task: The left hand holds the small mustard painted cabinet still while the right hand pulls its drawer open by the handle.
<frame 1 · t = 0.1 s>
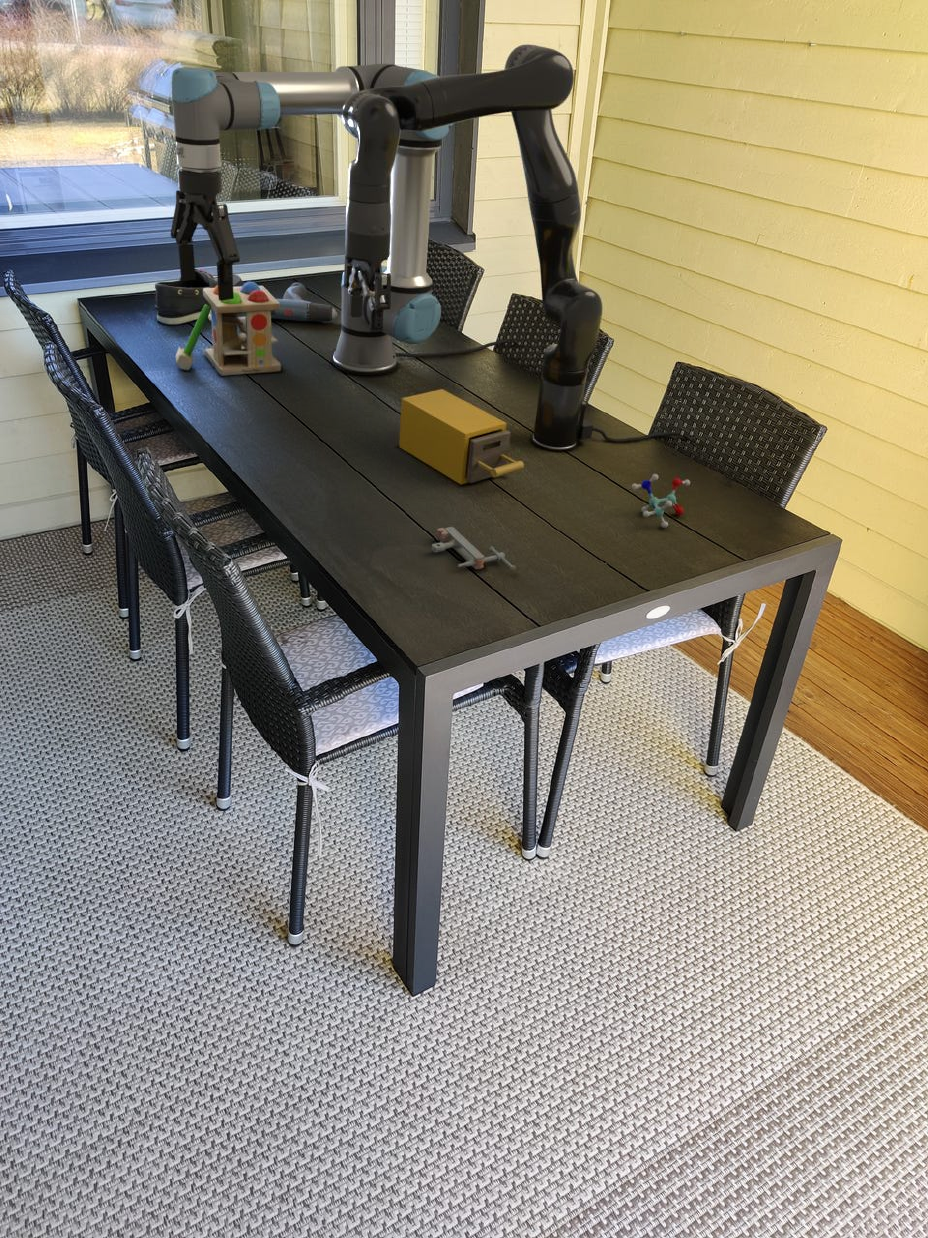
left hand: (206, 289, 186), 28 cm above the table, tool pointing down, fingers open, 13 cm apart
right hand: (365, 323, 173), 29 cm above the table, tool pointing down, fingers open, 8 cm apart
drawer: (469, 445, 192), point 5 cm above the table, slide at 0.8 cm
molecular model: (654, 516, 185), on the table
cabinet: (449, 459, 198), on the table
boat shoe: (202, 308, 263), on the table
pounding bench toy: (225, 365, 230), on the table
clamp: (467, 558, 166), on the table
power drill: (305, 313, 267), on the table
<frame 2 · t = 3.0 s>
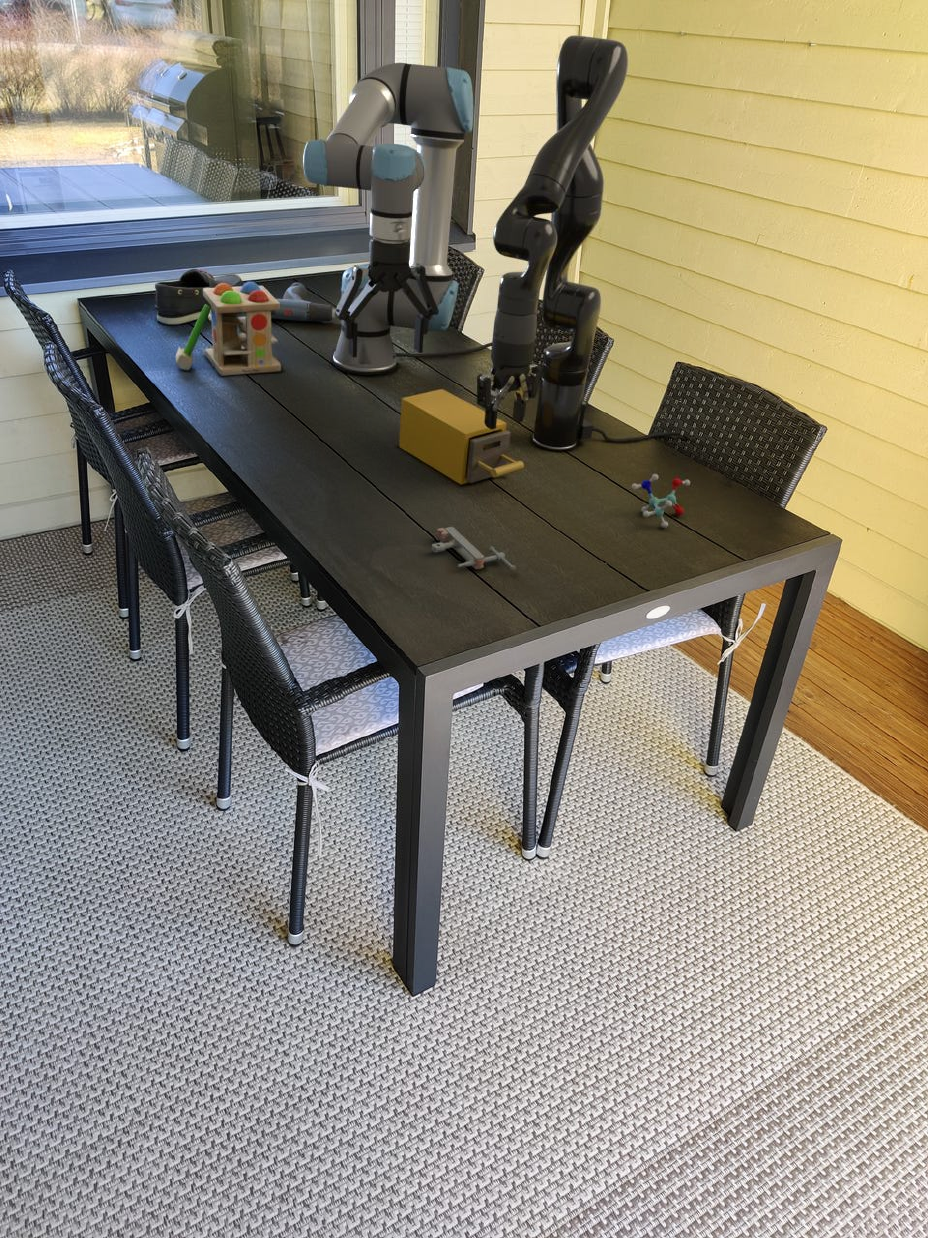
left hand: (385, 352, 190), 19 cm above the table, tool pointing down, fingers open, 13 cm apart
right hand: (504, 423, 182), 13 cm above the table, tool pointing down, fingers open, 6 cm apart
nothing on the table moved.
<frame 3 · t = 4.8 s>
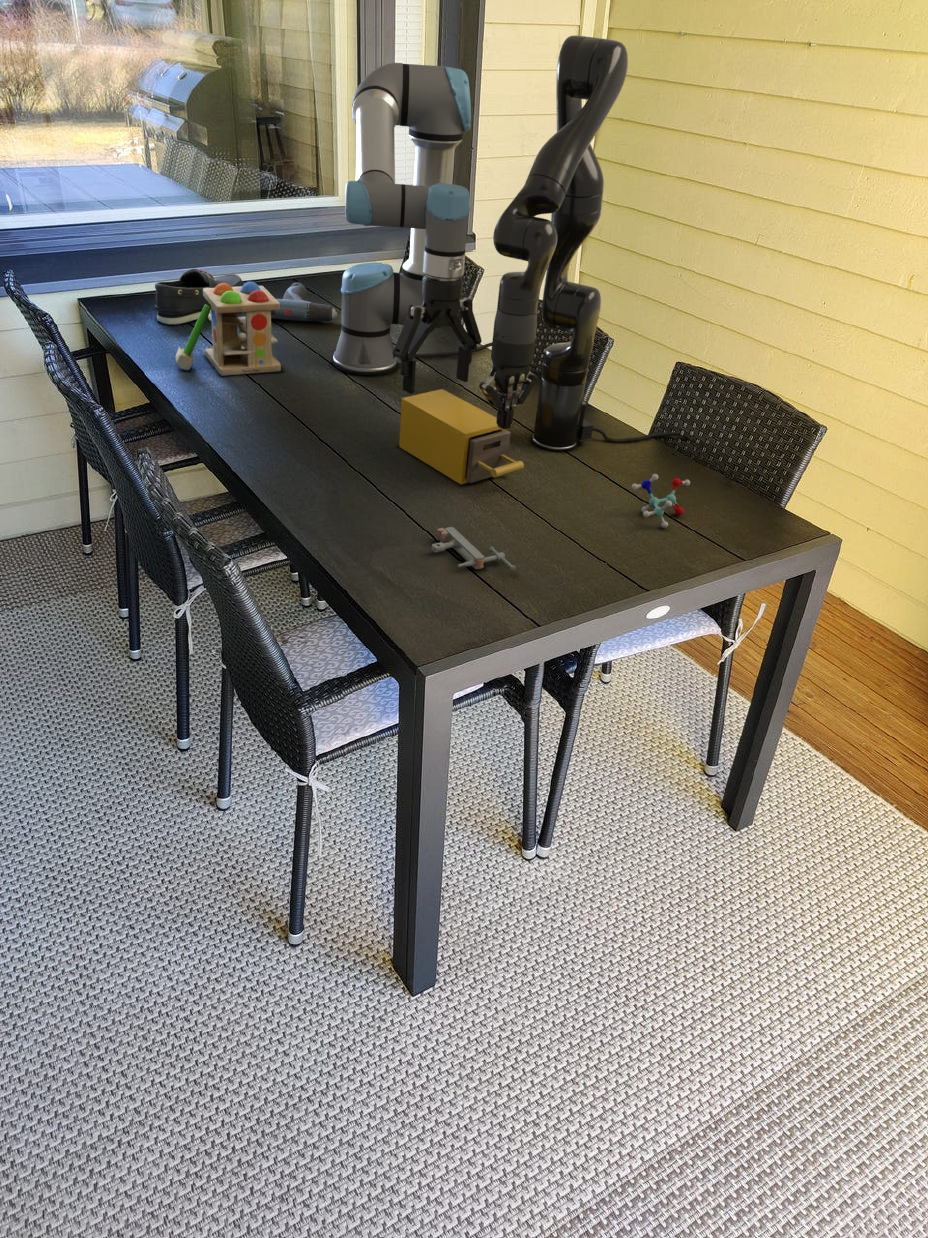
left hand: (435, 385, 194), 14 cm above the table, tool pointing down, fingers open, 13 cm apart
right hand: (503, 427, 182), 13 cm above the table, tool pointing down, fingers closed
nothing on the table moved.
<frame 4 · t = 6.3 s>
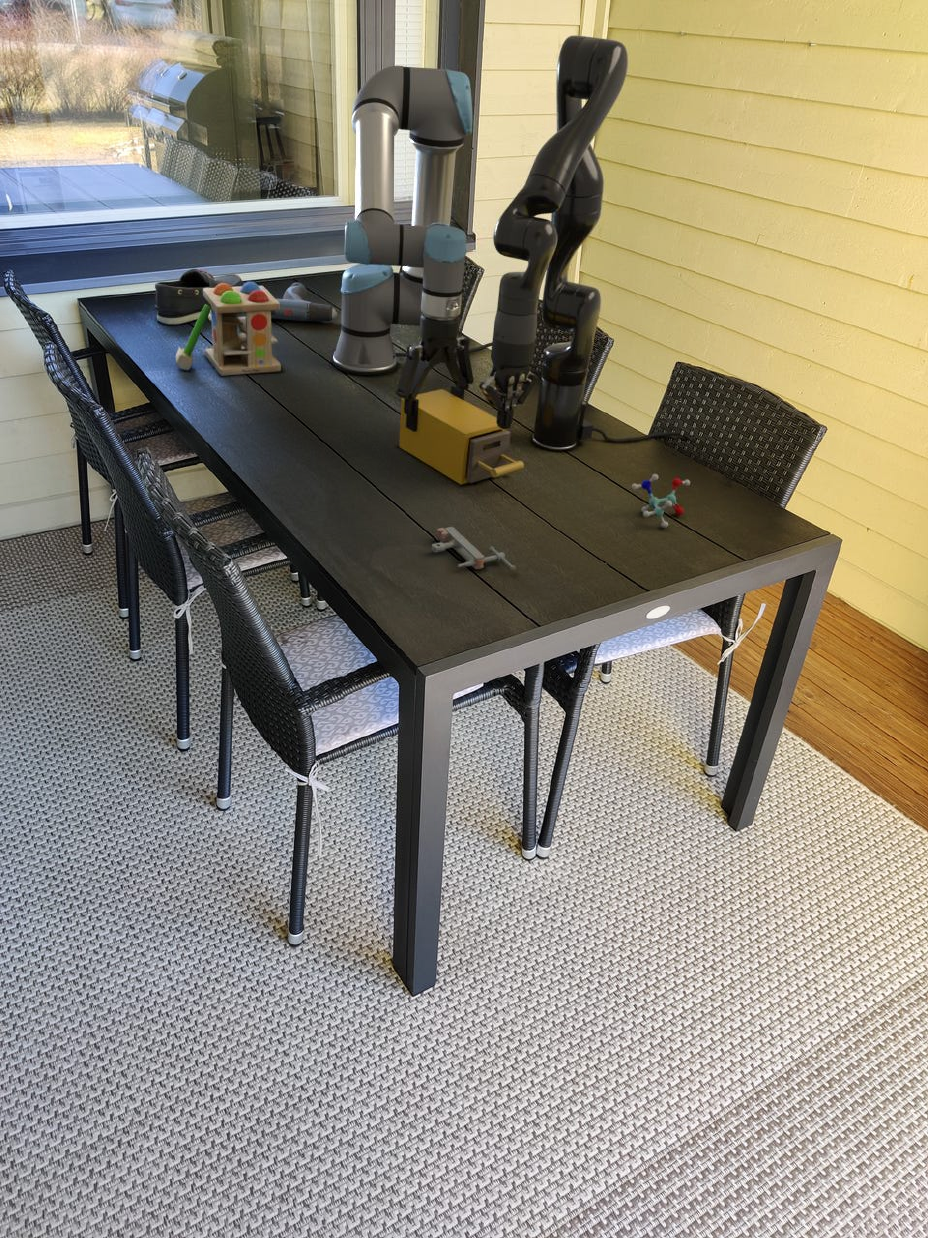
left hand: (433, 423, 198), 6 cm above the table, tool pointing down, fingers closed on cabinet, 10 cm apart
right hand: (503, 427, 182), 13 cm above the table, tool pointing down, fingers closed
cabinet: (449, 459, 198), on the table, touching left hand
everything else where it was.
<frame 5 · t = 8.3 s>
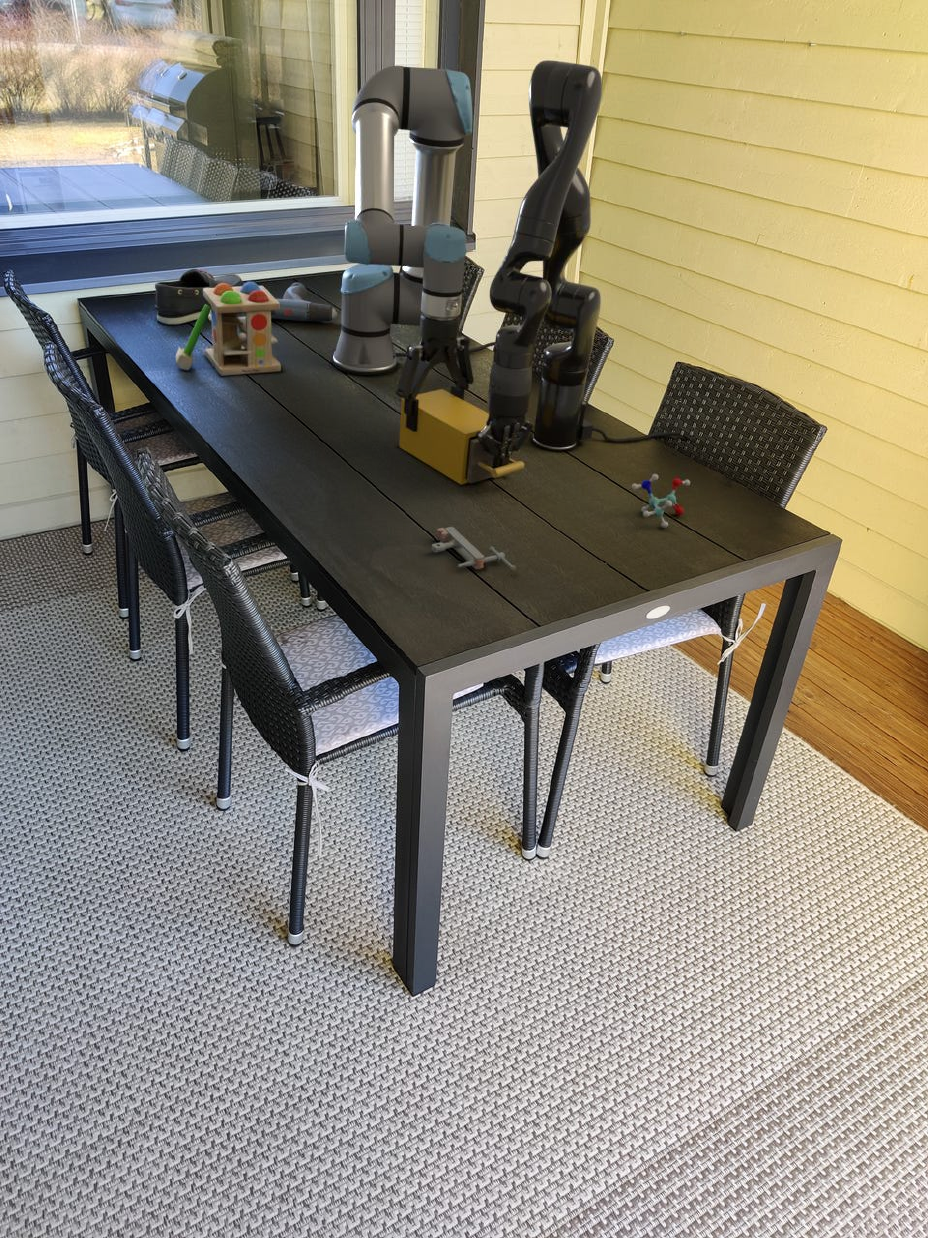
left hand: (433, 423, 198), 6 cm above the table, tool pointing down, fingers closed on cabinet, 10 cm apart
right hand: (499, 472, 187), 3 cm above the table, tool pointing down, fingers closed
drawer: (469, 445, 192), point 5 cm above the table, slide at 0.9 cm, touching right hand
cabinet: (449, 459, 198), on the table, touching left hand
everything else where it was.
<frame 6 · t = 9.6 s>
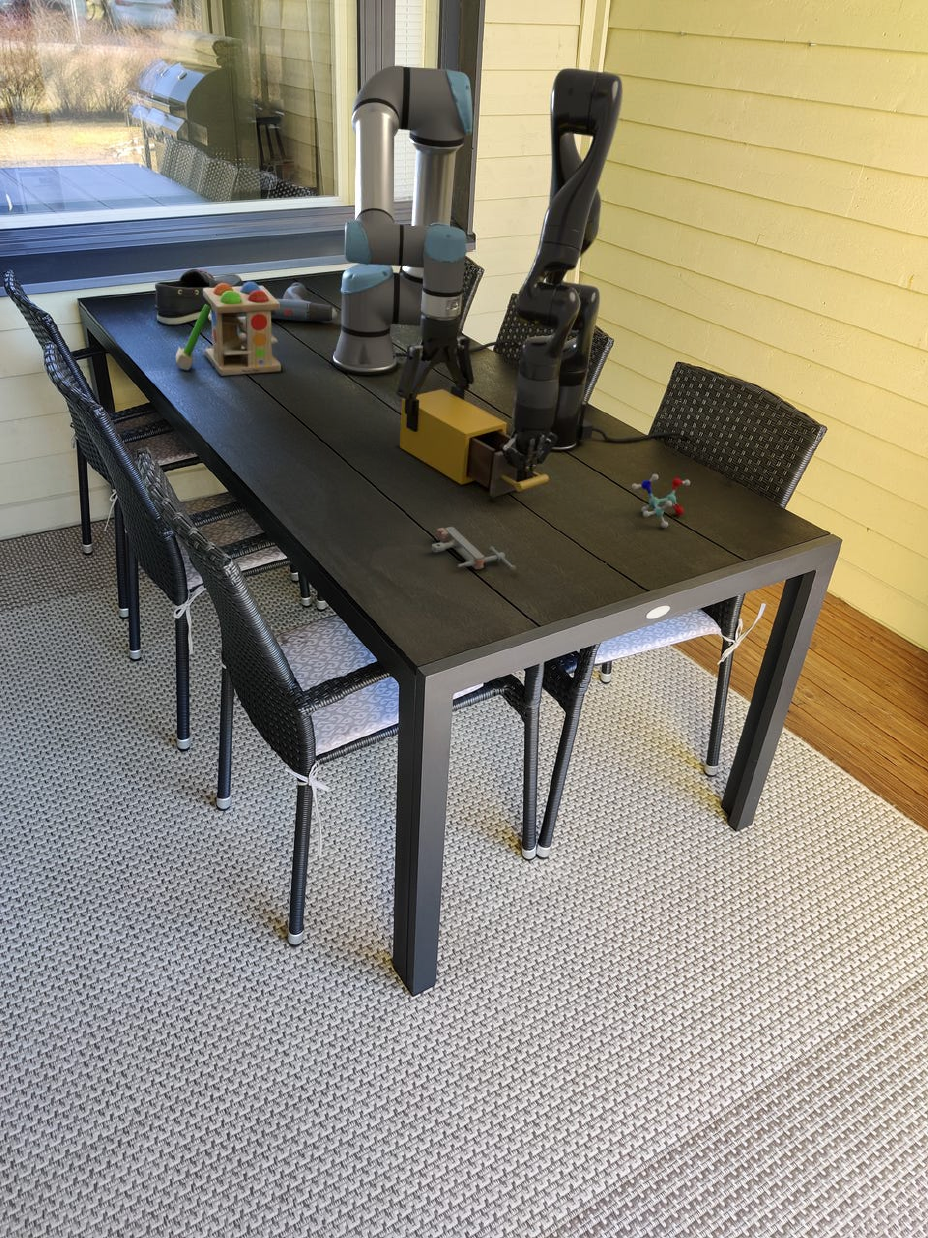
left hand: (433, 423, 198), 6 cm above the table, tool pointing down, fingers closed on cabinet, 10 cm apart
right hand: (523, 486, 183), 3 cm above the table, tool pointing down, fingers closed
drawer: (492, 458, 188), point 5 cm above the table, slide at 7.4 cm, touching right hand
cabinet: (449, 459, 198), on the table, touching left hand
everything else where it was.
when the left hand's fingers open (6 cm above the table, at t = 11.3 s): cabinet stays where it is, on the table.
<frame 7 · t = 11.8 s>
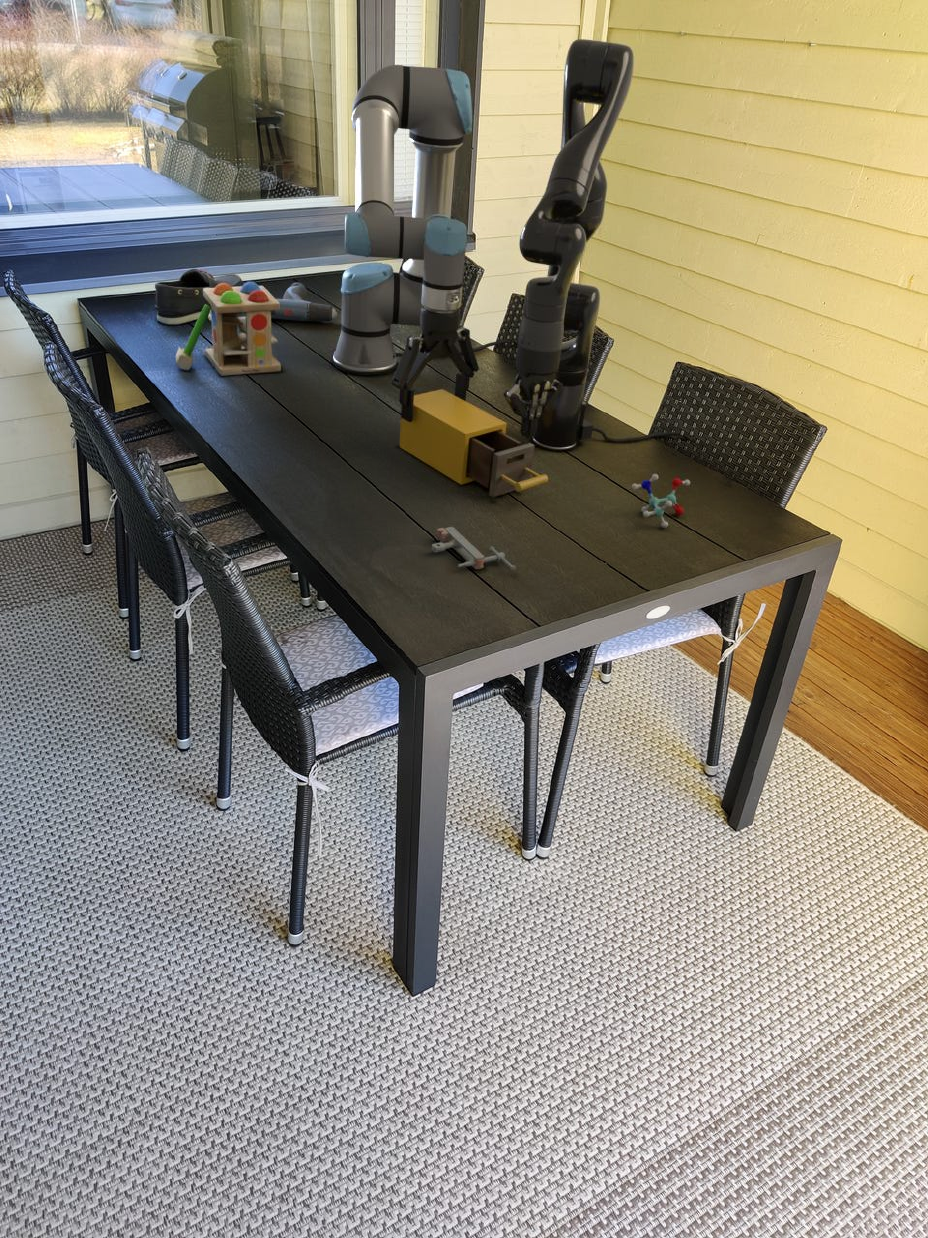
left hand: (433, 412, 197), 8 cm above the table, tool pointing down, fingers open, 13 cm apart
right hand: (527, 435, 178), 13 cm above the table, tool pointing down, fingers closed
drawer: (491, 458, 188), point 5 cm above the table, slide at 7.4 cm
cabinet: (449, 459, 198), on the table
everything else where it was.
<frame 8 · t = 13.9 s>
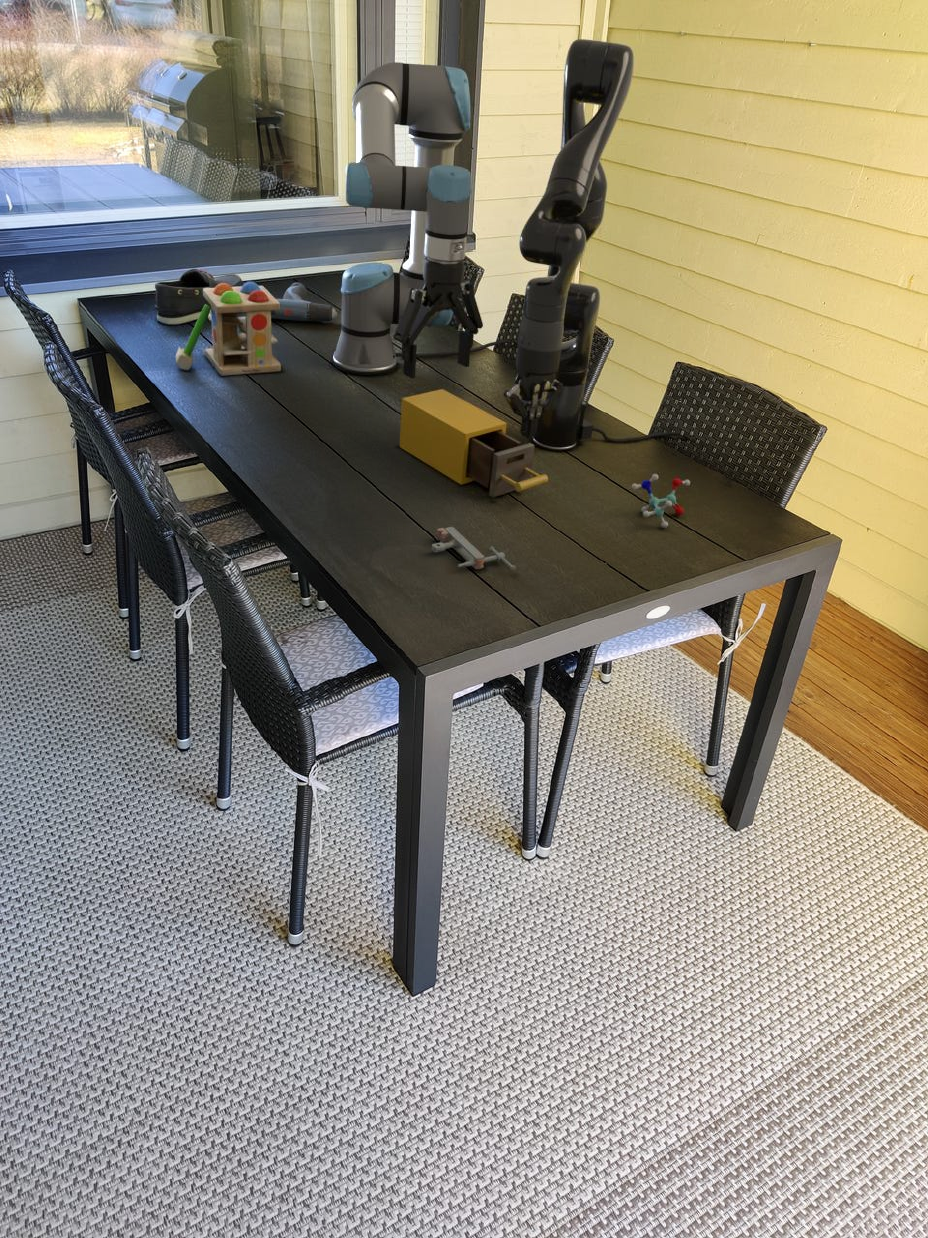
left hand: (436, 370, 192), 17 cm above the table, tool pointing down, fingers open, 13 cm apart
right hand: (527, 435, 178), 13 cm above the table, tool pointing down, fingers closed
nothing on the table moved.
at the end: drawer slide at 7.4 cm; cabinet tilted 0°; cabinet never tilted more than 1° during the clip; cabinet moved 0.1 cm from its start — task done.
